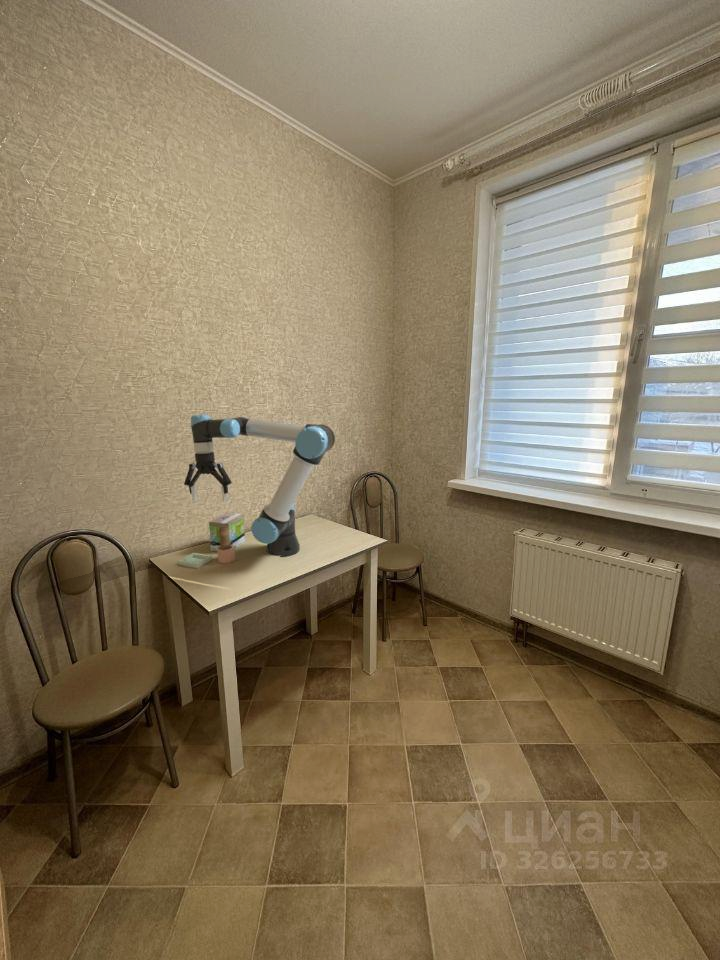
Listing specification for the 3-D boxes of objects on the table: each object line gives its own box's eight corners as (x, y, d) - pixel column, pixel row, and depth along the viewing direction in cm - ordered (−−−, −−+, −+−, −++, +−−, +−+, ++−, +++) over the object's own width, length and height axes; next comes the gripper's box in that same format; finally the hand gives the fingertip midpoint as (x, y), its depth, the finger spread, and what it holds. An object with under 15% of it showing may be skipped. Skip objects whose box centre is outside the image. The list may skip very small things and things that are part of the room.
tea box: (230, 553, 174) (227, 523, 171) (210, 552, 176) (207, 521, 173) (246, 541, 189) (244, 513, 185) (227, 540, 191) (225, 512, 187)
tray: (212, 561, 166) (211, 555, 166) (197, 569, 158) (196, 564, 158) (194, 558, 170) (193, 552, 169) (178, 566, 162) (177, 560, 161)
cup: (237, 559, 168) (236, 545, 167) (228, 565, 162) (226, 551, 161) (225, 557, 170) (224, 543, 169) (215, 563, 164) (214, 549, 163)
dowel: (233, 558, 167) (230, 526, 164) (227, 562, 164) (224, 529, 160) (225, 557, 169) (223, 525, 165) (219, 560, 165) (216, 528, 162)
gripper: (236, 450, 162) (241, 498, 167) (181, 451, 165) (187, 498, 170) (228, 453, 155) (233, 503, 159) (171, 453, 158) (177, 503, 162)
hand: (209, 500), depth 164 cm, fingers open, 13 cm apart
